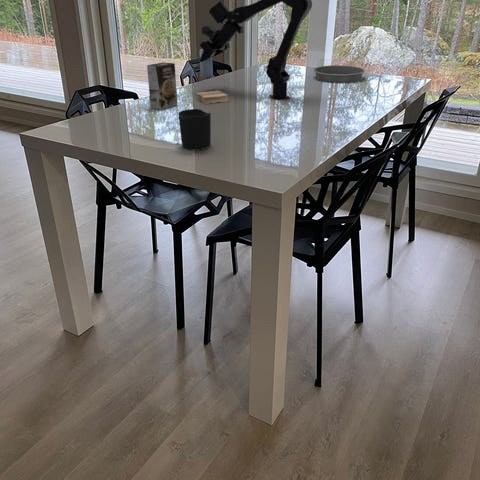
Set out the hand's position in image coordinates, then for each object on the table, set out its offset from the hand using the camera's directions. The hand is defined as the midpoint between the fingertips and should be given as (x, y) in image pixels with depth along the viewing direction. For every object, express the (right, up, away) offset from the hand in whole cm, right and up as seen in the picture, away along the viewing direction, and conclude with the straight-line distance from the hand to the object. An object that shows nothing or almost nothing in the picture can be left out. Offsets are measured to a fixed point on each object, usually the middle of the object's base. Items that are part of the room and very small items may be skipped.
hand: (203, 60), depth 207 cm
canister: (+1, -6, +3) cm, 7 cm away
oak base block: (+4, -20, -8) cm, 22 cm away
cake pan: (+64, +1, +29) cm, 70 cm away
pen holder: (+2, -49, -60) cm, 77 cm away
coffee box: (-14, -25, -17) cm, 33 cm away
